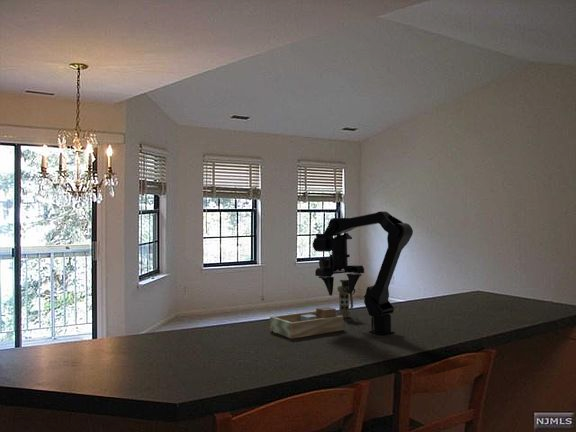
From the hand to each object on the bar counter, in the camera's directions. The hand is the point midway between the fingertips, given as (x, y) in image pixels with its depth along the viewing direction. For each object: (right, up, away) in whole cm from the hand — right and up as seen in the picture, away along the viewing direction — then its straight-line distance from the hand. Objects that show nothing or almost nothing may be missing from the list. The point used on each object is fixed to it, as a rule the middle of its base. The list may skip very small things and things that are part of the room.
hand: (340, 294), depth 187 cm
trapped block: (-12, -12, -1) cm, 17 cm away
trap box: (-13, -12, -6) cm, 19 cm away
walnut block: (-6, -9, -5) cm, 12 cm away
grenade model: (+5, -12, +17) cm, 21 cm away
